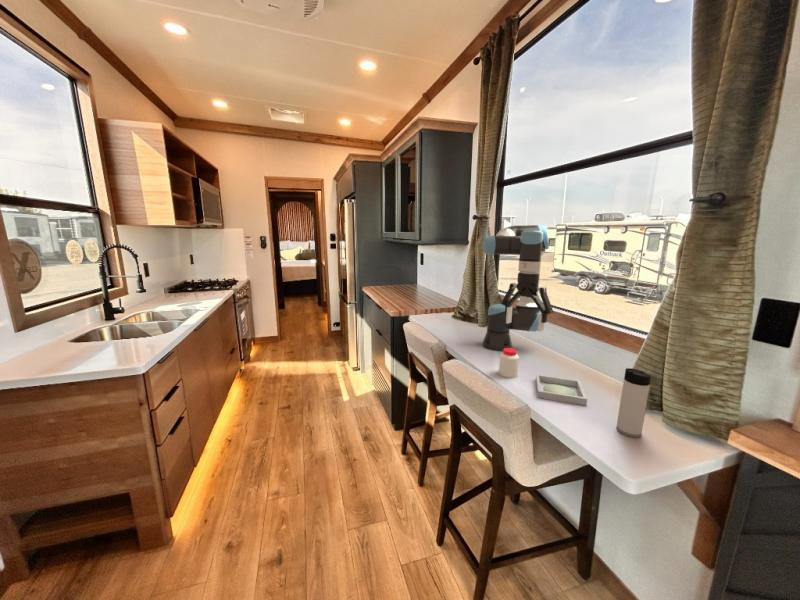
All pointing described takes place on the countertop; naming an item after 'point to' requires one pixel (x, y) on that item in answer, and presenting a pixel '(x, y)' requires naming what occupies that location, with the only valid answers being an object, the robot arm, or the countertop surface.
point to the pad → (559, 389)
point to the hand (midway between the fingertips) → (523, 326)
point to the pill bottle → (509, 363)
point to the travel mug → (633, 402)
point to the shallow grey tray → (557, 396)
